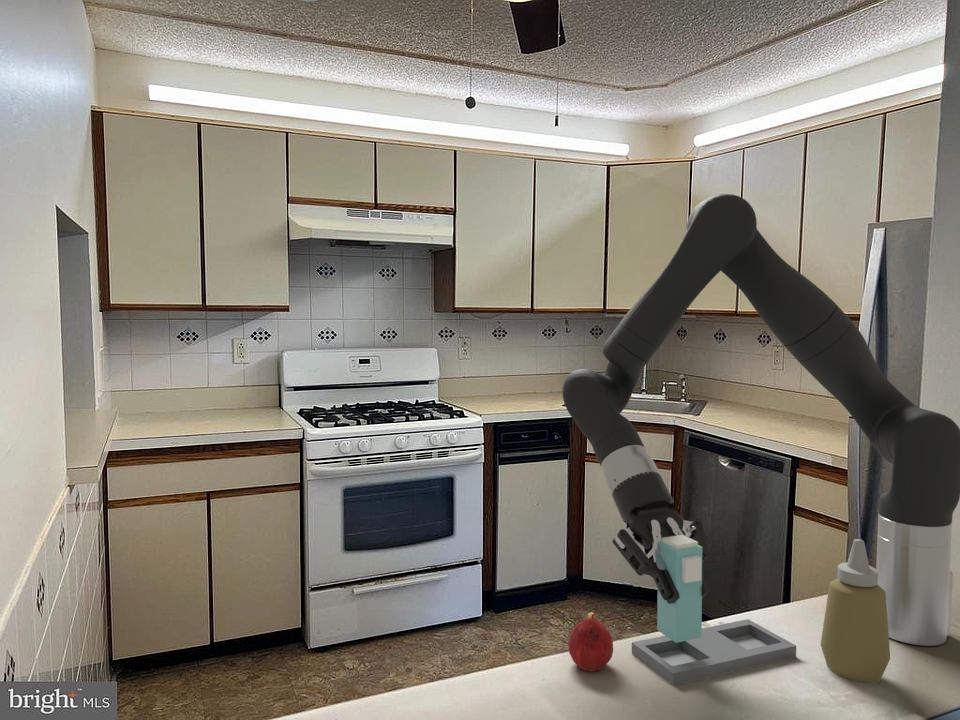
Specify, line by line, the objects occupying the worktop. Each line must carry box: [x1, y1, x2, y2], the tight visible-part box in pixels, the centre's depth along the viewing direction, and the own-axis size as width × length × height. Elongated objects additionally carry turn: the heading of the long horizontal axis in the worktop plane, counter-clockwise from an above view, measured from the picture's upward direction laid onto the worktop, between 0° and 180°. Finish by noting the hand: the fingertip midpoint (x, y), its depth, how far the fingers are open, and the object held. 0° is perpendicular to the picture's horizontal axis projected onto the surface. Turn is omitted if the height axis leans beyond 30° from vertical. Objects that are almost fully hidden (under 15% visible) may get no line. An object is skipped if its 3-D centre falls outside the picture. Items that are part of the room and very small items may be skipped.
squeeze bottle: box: [820, 538, 891, 684], centre depth 92 cm, size 8×8×18 cm
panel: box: [631, 618, 797, 686], centre depth 97 cm, size 20×9×2 cm, turn 112°
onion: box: [568, 611, 614, 673], centre depth 93 cm, size 6×6×8 cm
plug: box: [656, 534, 703, 643], centre depth 94 cm, size 4×5×13 cm
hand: (689, 597), depth 92 cm, fingers closed on plug, 4 cm apart
